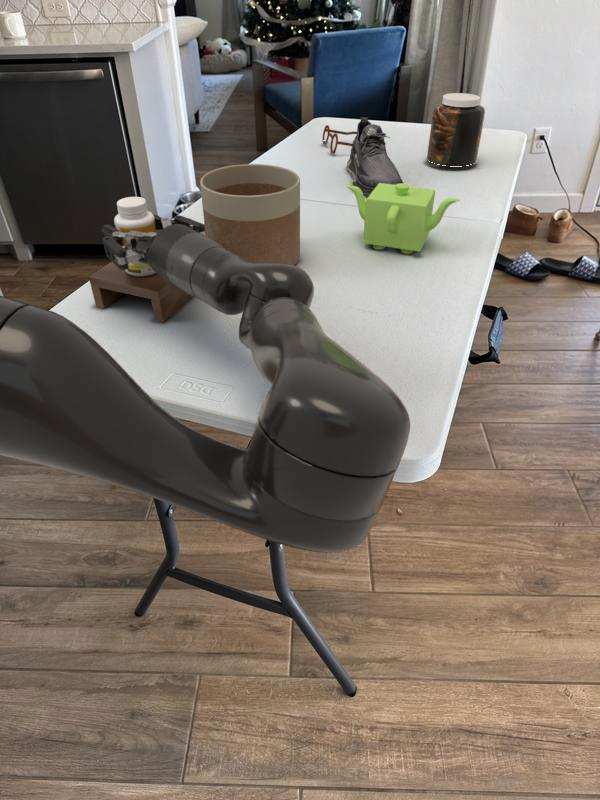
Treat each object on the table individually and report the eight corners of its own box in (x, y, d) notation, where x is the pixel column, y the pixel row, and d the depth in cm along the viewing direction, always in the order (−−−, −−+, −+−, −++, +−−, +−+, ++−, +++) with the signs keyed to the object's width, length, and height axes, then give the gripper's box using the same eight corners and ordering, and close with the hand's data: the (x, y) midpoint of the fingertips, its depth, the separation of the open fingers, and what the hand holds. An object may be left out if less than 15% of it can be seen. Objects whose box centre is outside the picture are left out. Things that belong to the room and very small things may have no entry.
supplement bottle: (169, 270, 86) (159, 202, 79) (135, 281, 83) (121, 211, 77) (151, 258, 89) (140, 191, 83) (118, 268, 86) (103, 200, 80)
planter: (258, 233, 109) (255, 157, 100) (318, 260, 100) (320, 179, 91) (190, 259, 100) (179, 178, 92) (249, 290, 91) (244, 204, 83)
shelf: (163, 322, 84) (153, 265, 78) (95, 306, 87) (81, 250, 82) (210, 281, 94) (205, 227, 88) (148, 268, 97) (139, 216, 92)
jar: (455, 174, 137) (467, 104, 127) (417, 163, 143) (425, 96, 134) (484, 164, 143) (497, 97, 133) (446, 153, 149) (456, 89, 140)
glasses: (321, 143, 157) (321, 123, 154) (367, 140, 159) (368, 120, 156) (333, 157, 147) (334, 136, 144) (382, 154, 149) (384, 133, 146)
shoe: (363, 204, 121) (368, 144, 113) (338, 165, 142) (341, 112, 134) (411, 202, 122) (418, 142, 115) (379, 163, 143) (384, 110, 136)
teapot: (451, 251, 103) (462, 192, 96) (390, 268, 98) (397, 206, 91) (400, 222, 113) (407, 166, 107) (342, 235, 108) (345, 178, 102)
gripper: (148, 307, 73) (87, 263, 82) (239, 272, 80) (173, 236, 90) (138, 251, 68) (74, 212, 78) (235, 219, 75) (166, 187, 85)
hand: (127, 225), depth 84 cm, fingers open, 6 cm apart
